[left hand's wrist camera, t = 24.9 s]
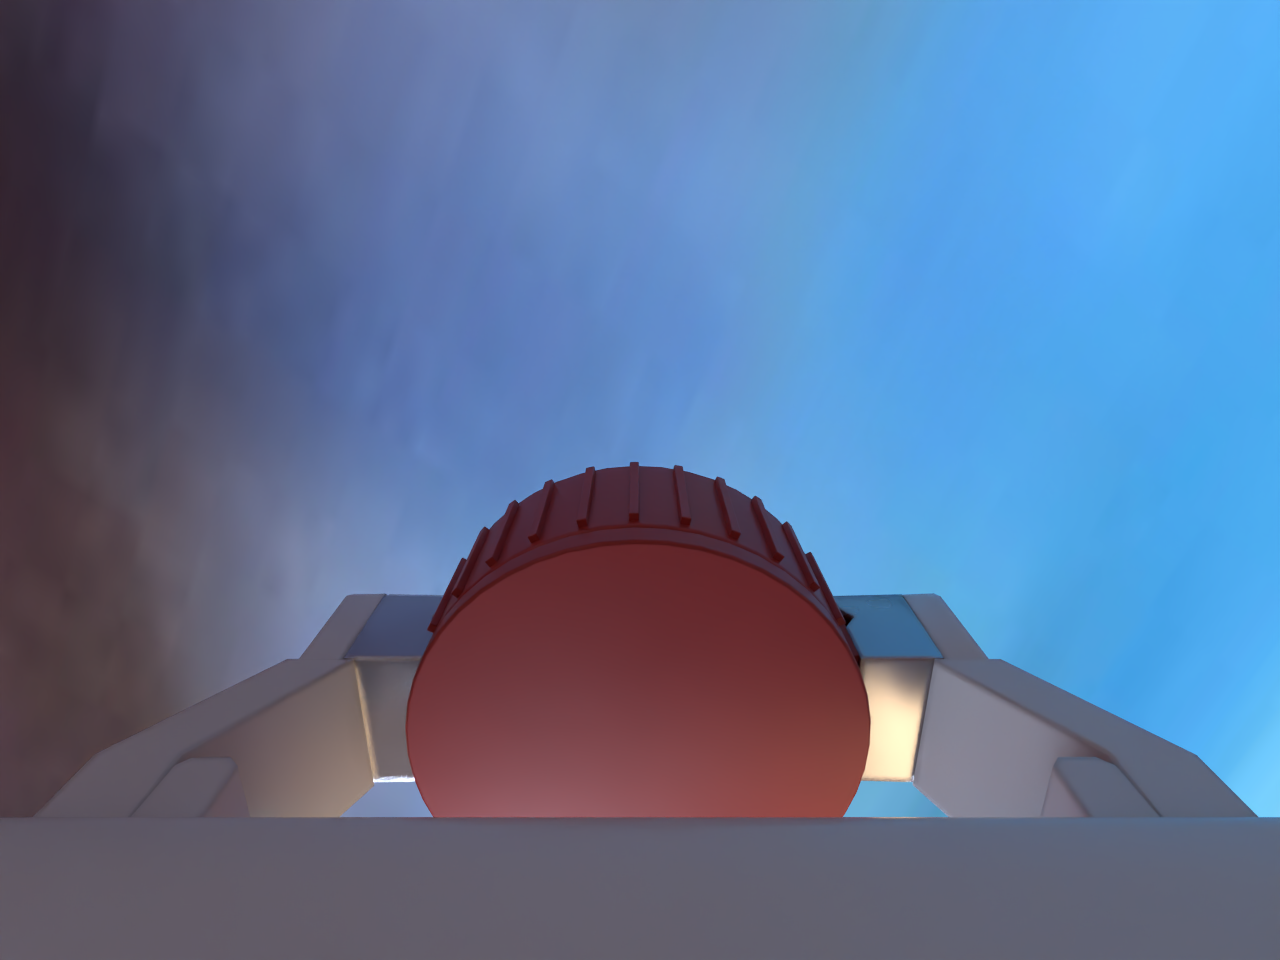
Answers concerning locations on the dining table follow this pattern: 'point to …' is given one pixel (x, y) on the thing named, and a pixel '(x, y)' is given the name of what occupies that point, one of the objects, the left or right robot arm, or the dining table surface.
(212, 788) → the left robot arm
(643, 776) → the lid
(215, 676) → the dining table surface
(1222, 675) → the dining table surface
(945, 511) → the dining table surface
